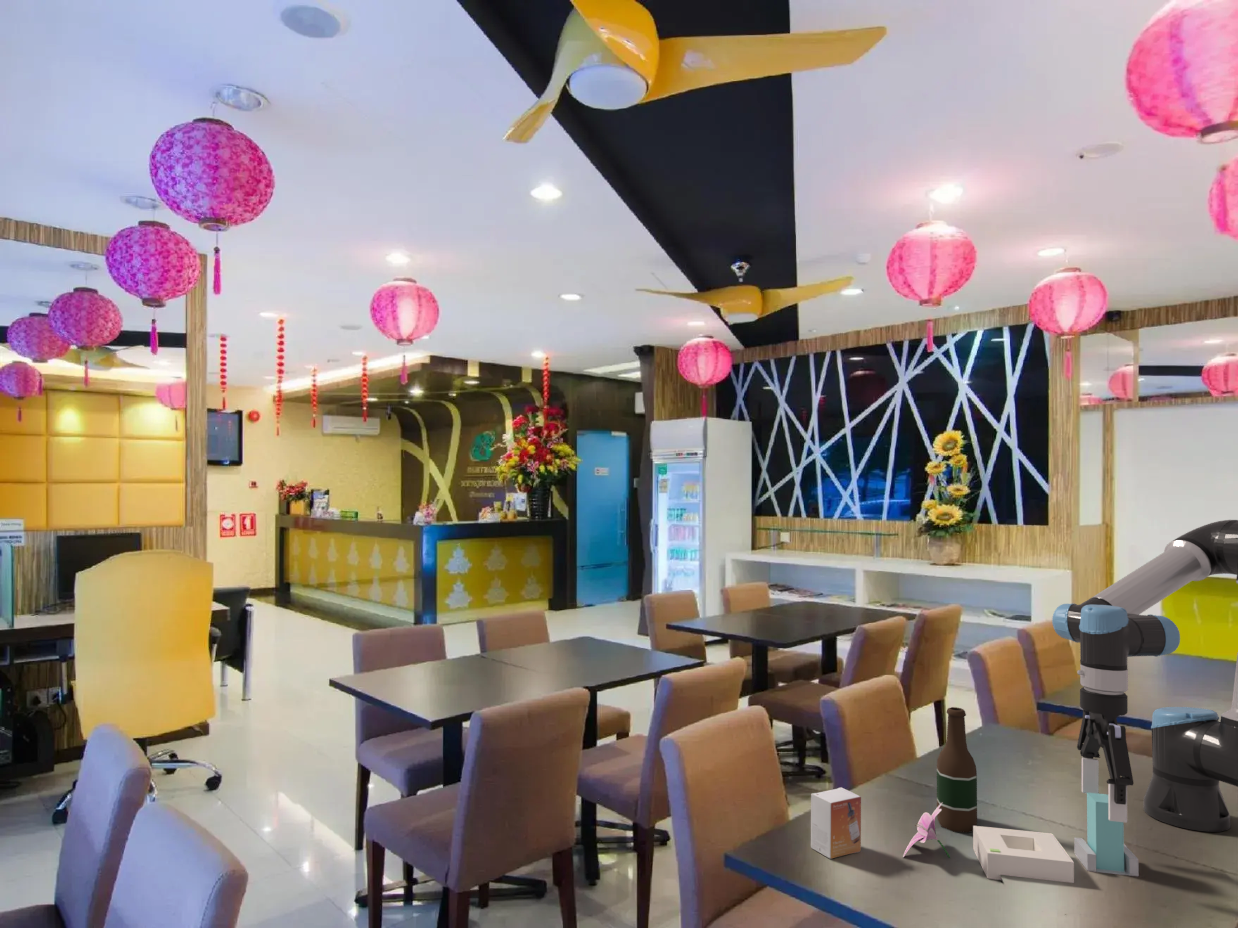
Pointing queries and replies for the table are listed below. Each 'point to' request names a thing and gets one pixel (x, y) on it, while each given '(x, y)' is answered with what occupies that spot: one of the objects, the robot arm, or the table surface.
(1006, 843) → the port
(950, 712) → the beer bottle
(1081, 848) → the holster
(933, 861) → the table surface
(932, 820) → the lily
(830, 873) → the table surface
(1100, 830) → the plug
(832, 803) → the small box
